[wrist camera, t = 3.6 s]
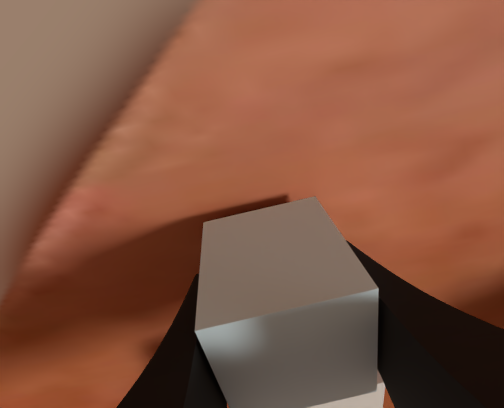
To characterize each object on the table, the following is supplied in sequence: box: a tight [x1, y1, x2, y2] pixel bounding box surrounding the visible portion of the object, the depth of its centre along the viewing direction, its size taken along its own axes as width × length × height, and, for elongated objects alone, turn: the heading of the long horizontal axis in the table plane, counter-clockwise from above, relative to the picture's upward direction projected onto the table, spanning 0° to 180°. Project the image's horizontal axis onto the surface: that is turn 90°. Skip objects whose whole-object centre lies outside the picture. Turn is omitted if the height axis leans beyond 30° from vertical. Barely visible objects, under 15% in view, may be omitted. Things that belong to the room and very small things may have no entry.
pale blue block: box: [195, 196, 379, 408], centre depth 10 cm, size 4×4×5 cm
